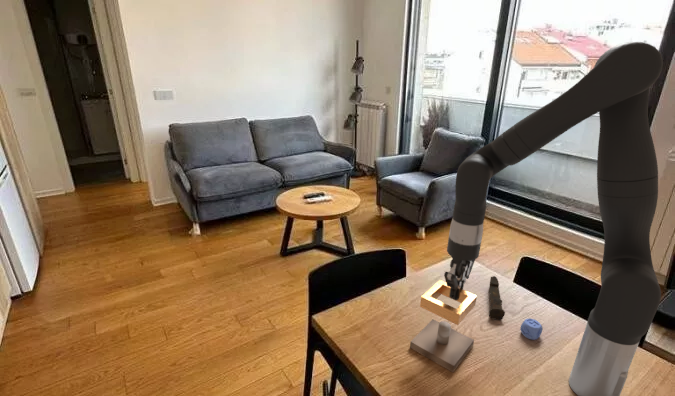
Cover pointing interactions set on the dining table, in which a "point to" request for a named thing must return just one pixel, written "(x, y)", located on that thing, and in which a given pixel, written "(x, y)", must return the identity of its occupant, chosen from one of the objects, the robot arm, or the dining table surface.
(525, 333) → the decorative dice
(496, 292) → the hand tool
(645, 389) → the dining table surface
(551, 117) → the robot arm
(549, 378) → the dining table surface
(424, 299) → the link
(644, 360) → the dining table surface
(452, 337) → the keeper
